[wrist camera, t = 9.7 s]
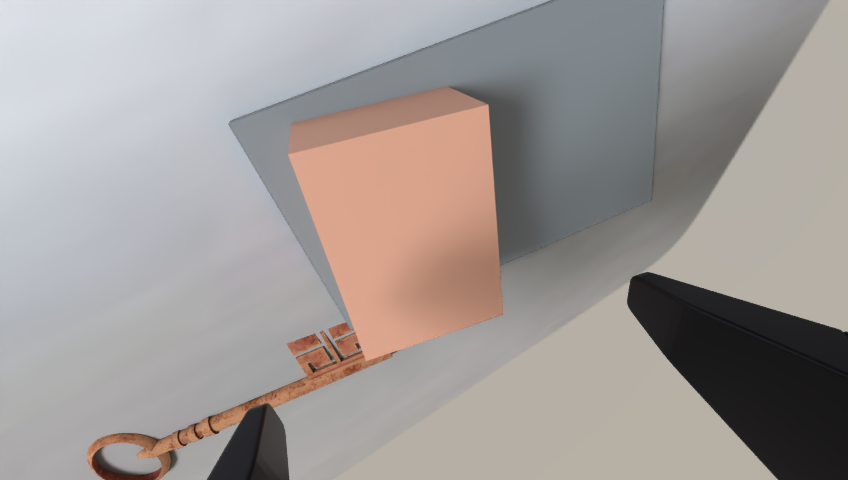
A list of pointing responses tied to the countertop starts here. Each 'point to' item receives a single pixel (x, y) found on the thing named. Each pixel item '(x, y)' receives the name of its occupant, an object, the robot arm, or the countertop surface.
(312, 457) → the countertop surface
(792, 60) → the countertop surface
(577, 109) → the mat
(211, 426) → the key
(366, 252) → the card box
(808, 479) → the robot arm
